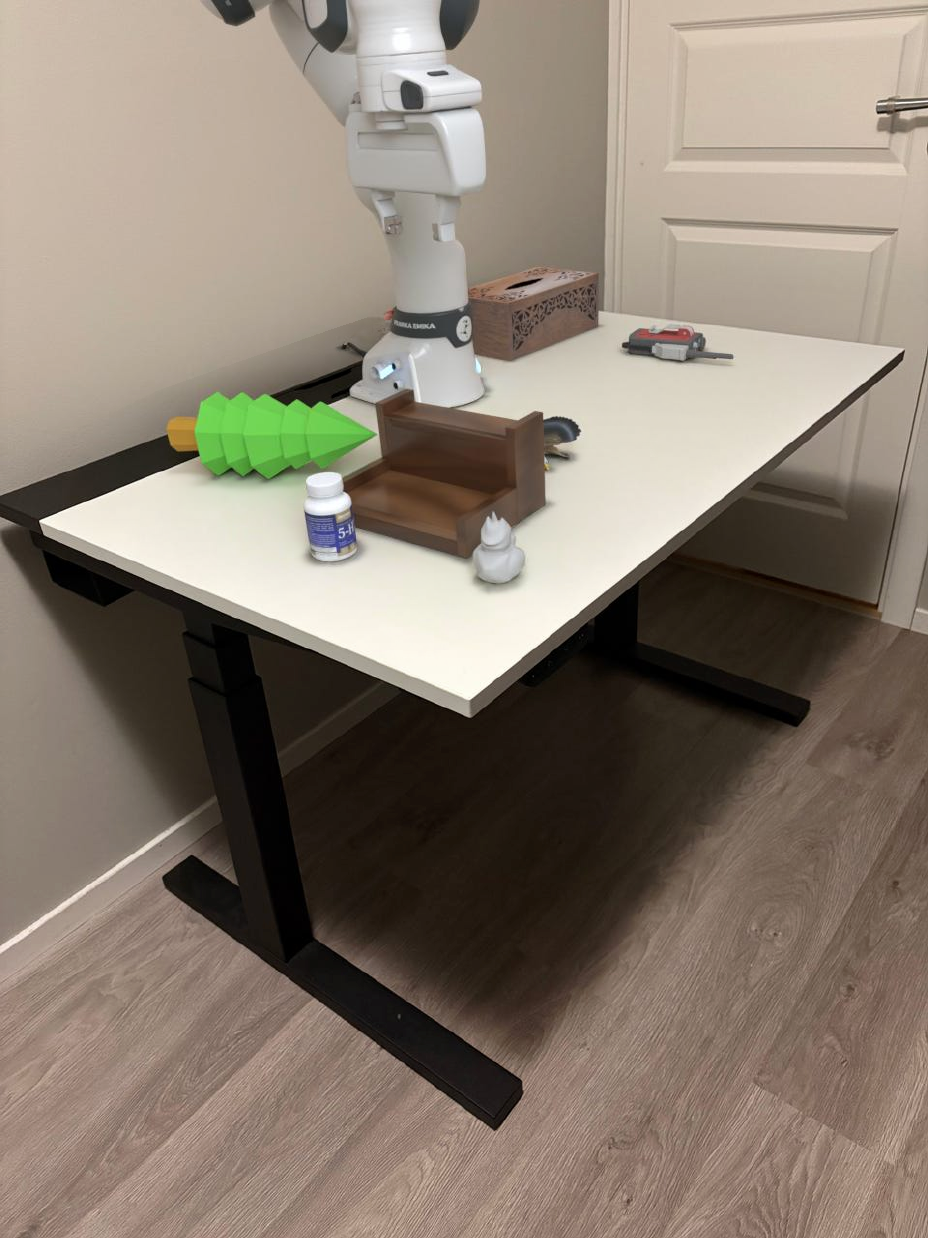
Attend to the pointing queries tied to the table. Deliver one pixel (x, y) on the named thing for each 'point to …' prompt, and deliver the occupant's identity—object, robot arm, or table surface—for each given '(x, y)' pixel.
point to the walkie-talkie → (670, 343)
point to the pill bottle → (329, 518)
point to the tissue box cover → (532, 310)
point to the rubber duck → (497, 552)
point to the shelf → (447, 474)
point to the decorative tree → (265, 434)
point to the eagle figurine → (558, 434)
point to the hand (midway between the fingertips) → (418, 237)
